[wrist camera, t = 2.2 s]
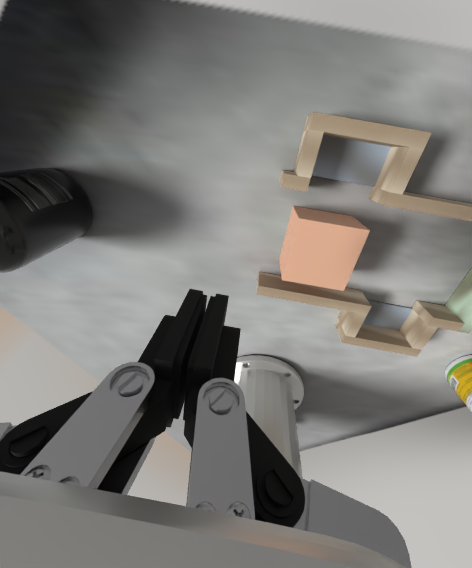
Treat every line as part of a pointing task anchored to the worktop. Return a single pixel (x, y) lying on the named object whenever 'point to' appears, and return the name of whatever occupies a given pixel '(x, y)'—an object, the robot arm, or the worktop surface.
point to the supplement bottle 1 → (39, 214)
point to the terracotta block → (321, 248)
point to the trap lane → (388, 192)
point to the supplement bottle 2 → (461, 378)
